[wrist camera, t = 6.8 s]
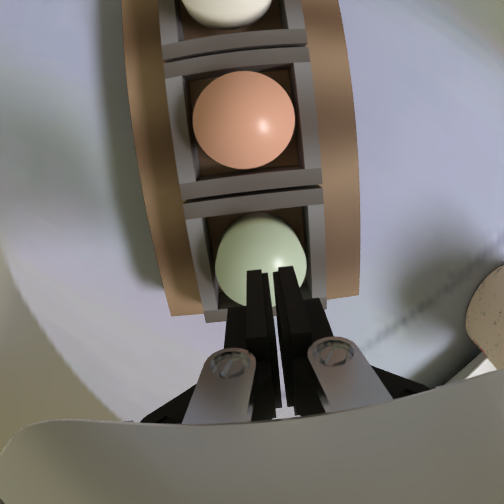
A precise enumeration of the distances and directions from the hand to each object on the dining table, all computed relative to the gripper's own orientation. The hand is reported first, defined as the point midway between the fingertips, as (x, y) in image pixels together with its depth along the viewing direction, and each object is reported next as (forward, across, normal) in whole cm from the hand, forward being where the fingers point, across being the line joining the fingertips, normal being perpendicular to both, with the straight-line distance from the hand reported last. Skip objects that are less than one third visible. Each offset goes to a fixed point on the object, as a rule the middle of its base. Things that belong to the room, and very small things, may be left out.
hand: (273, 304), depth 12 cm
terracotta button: (+7, 0, -7) cm, 9 cm away
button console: (+10, 0, -6) cm, 12 cm away
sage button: (+6, 0, 0) cm, 6 cm away
